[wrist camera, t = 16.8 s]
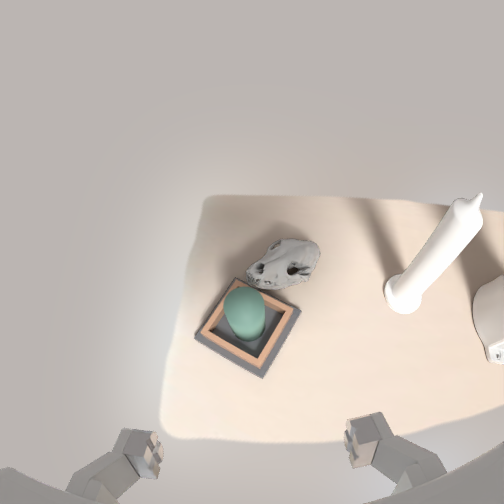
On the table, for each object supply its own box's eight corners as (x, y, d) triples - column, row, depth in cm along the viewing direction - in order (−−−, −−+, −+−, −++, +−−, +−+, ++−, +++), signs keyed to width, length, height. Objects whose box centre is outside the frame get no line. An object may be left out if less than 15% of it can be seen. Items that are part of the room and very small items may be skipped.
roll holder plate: (300, 313, 44) (302, 305, 41) (262, 379, 39) (262, 376, 36) (235, 280, 47) (234, 271, 45) (195, 339, 42) (190, 334, 40)
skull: (335, 262, 45) (295, 266, 36) (298, 296, 49) (253, 307, 40) (307, 226, 48) (262, 220, 39) (274, 260, 53) (226, 262, 44)
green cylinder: (271, 319, 42) (272, 298, 36) (254, 347, 40) (250, 332, 34) (243, 303, 44) (237, 279, 37) (224, 330, 42) (215, 311, 35)
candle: (375, 290, 45) (444, 181, 24) (402, 268, 47) (470, 162, 25) (401, 322, 42) (493, 232, 20) (427, 298, 43) (512, 205, 22)
